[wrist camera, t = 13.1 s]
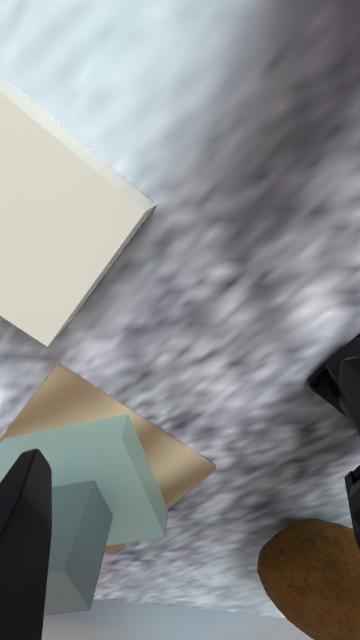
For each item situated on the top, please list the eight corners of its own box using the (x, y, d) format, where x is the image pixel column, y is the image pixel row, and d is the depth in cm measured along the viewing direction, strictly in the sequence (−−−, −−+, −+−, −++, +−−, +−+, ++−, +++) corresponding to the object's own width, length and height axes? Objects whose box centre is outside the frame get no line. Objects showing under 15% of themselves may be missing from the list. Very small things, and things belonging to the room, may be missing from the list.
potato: (363, 571, 31) (413, 686, 24) (238, 552, 31) (251, 662, 24) (400, 515, 28) (469, 629, 21) (260, 493, 28) (283, 601, 21)
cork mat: (215, 465, 27) (215, 469, 26) (113, 550, 32) (112, 554, 31) (58, 362, 23) (56, 365, 23) (-28, 476, 28) (-31, 480, 28)
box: (156, 204, 19) (145, 211, 15) (75, 315, 22) (47, 346, 18) (18, 88, 17) (-40, 59, 13) (-50, 227, 20) (-115, 240, 16)
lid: (128, 413, 24) (96, 523, 17) (167, 508, 28) (157, 633, 20) (3, 438, 26) (-80, 550, 18) (57, 525, 30) (8, 648, 22)
